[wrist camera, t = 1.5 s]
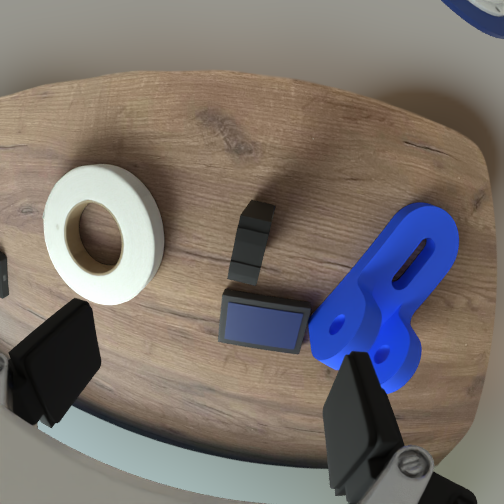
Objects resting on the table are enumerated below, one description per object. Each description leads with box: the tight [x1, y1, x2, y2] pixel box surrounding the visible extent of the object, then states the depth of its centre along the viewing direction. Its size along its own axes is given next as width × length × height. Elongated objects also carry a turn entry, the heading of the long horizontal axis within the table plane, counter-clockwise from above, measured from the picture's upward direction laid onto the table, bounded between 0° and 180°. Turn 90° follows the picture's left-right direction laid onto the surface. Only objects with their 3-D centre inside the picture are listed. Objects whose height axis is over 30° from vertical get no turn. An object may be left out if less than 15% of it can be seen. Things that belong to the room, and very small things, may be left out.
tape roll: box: [43, 164, 164, 305], centre depth 28 cm, size 16×15×3 cm
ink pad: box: [218, 289, 311, 354], centre depth 30 cm, size 9×6×2 cm, turn 83°
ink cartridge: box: [227, 200, 275, 286], centre depth 24 cm, size 5×2×8 cm, turn 168°
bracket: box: [308, 202, 459, 394], centre depth 24 cm, size 18×8×9 cm, turn 146°
